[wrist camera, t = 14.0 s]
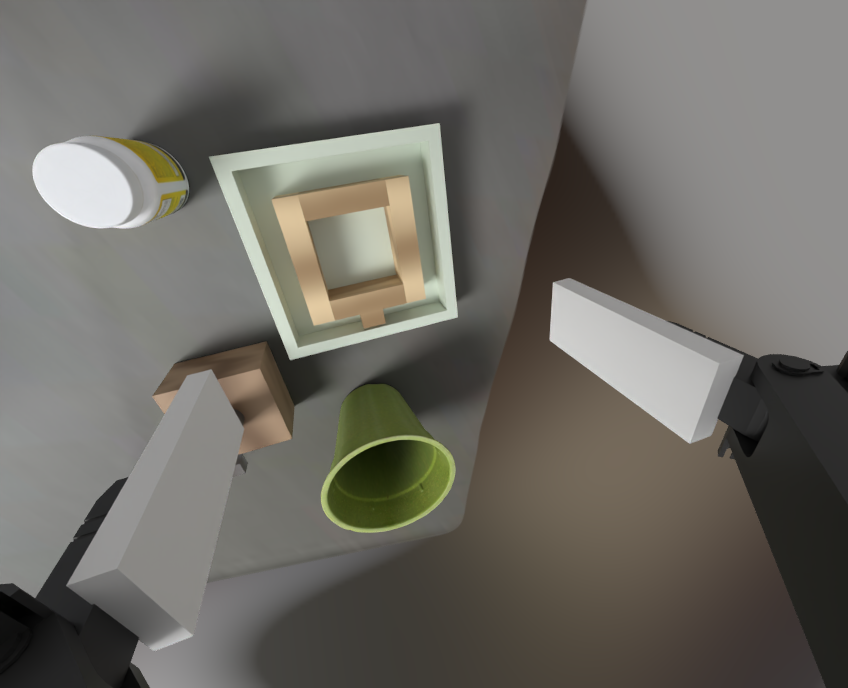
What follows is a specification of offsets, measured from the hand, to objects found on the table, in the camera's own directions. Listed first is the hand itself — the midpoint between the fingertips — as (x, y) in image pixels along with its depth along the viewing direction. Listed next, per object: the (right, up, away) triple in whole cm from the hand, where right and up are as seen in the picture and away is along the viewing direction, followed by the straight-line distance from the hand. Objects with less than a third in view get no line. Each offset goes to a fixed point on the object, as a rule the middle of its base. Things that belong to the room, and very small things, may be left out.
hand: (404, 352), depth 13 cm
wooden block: (-17, -4, +20) cm, 27 cm away
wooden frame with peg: (-5, +9, +17) cm, 19 cm away
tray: (-5, +9, +17) cm, 20 cm away
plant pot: (-5, -7, +26) cm, 27 cm away
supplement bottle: (-19, +12, +11) cm, 25 cm away
